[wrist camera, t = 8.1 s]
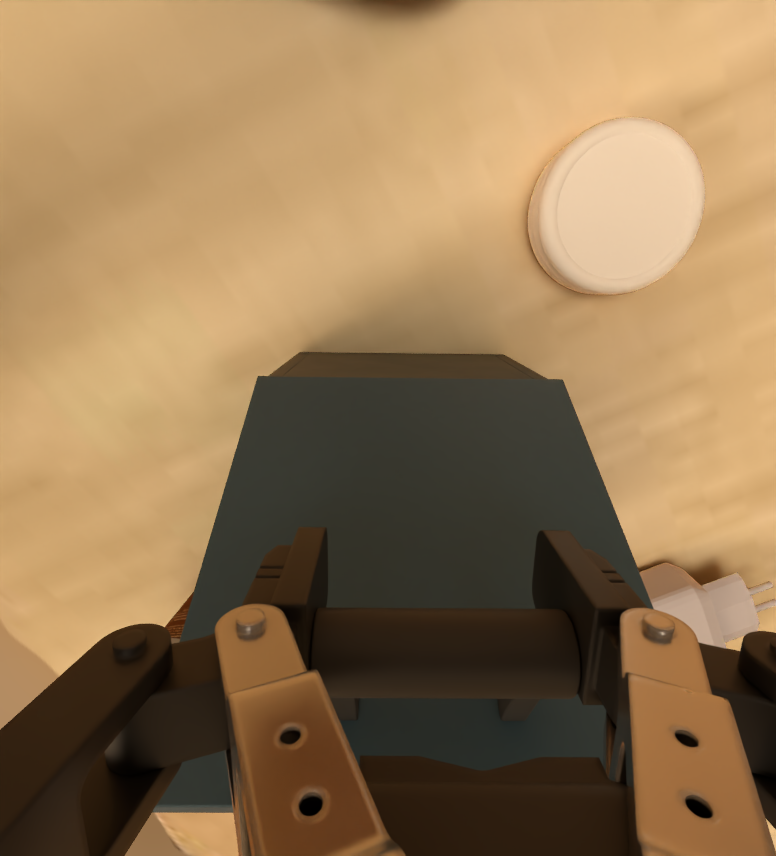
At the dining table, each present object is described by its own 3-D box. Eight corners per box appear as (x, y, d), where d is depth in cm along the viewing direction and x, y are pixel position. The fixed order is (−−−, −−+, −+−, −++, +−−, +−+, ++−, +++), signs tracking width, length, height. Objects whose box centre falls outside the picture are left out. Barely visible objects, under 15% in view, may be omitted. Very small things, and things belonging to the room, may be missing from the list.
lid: (718, 813, 13) (868, 761, 9) (140, 812, 12) (33, 759, 9) (558, 391, 24) (592, 290, 21) (260, 388, 24) (238, 285, 20)
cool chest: (489, 550, 40) (529, 649, 29) (306, 549, 39) (276, 648, 29) (504, 354, 35) (557, 383, 25) (299, 352, 35) (261, 380, 24)
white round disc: (505, 273, 34) (519, 271, 31) (554, 112, 31) (575, 91, 28) (641, 310, 35) (669, 312, 31) (700, 156, 32) (738, 141, 29)
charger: (763, 619, 42) (592, 680, 43) (738, 528, 39) (558, 596, 41) (810, 660, 37) (617, 727, 39) (785, 559, 35) (580, 635, 36)
